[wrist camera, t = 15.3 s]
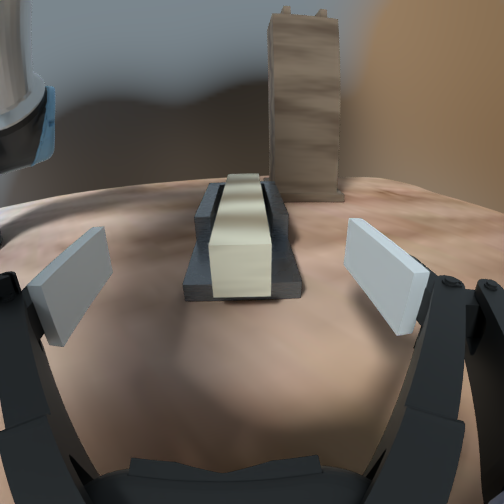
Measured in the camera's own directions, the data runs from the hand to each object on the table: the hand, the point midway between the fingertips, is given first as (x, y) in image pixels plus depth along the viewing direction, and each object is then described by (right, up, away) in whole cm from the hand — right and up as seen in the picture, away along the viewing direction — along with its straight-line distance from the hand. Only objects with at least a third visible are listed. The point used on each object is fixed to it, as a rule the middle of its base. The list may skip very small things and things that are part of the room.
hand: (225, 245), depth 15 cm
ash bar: (0, +1, +15) cm, 15 cm away
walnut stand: (+10, +10, +36) cm, 38 cm away
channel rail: (0, +1, +17) cm, 18 cm away
